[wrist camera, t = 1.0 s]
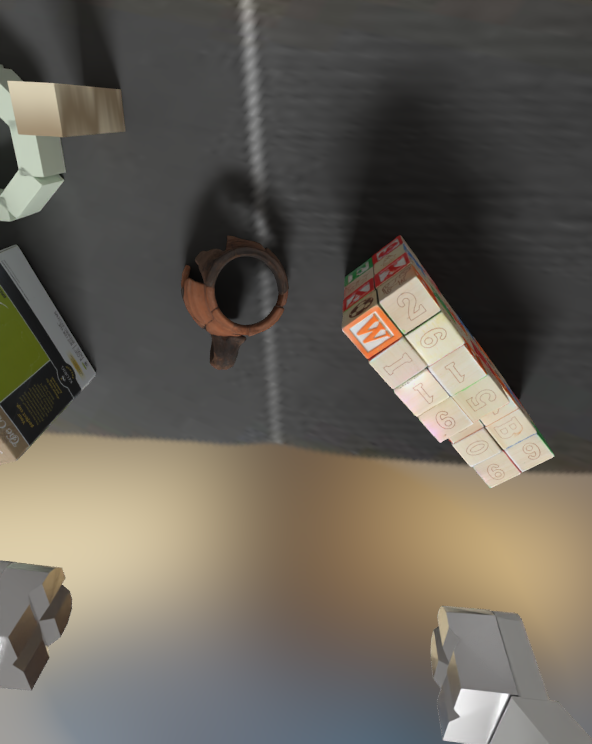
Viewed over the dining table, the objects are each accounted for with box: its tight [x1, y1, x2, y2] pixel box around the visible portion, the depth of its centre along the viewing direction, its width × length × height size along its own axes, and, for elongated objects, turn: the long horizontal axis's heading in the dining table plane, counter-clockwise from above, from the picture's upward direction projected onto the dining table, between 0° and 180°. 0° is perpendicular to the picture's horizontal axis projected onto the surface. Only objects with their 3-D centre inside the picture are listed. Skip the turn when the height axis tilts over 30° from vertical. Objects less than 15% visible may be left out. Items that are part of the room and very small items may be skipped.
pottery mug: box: [181, 236, 289, 370], centre depth 44 cm, size 12×10×8 cm
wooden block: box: [7, 81, 125, 137], centre depth 35 cm, size 3×3×10 cm
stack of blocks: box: [342, 235, 554, 488], centre depth 41 cm, size 21×6×12 cm, turn 40°
